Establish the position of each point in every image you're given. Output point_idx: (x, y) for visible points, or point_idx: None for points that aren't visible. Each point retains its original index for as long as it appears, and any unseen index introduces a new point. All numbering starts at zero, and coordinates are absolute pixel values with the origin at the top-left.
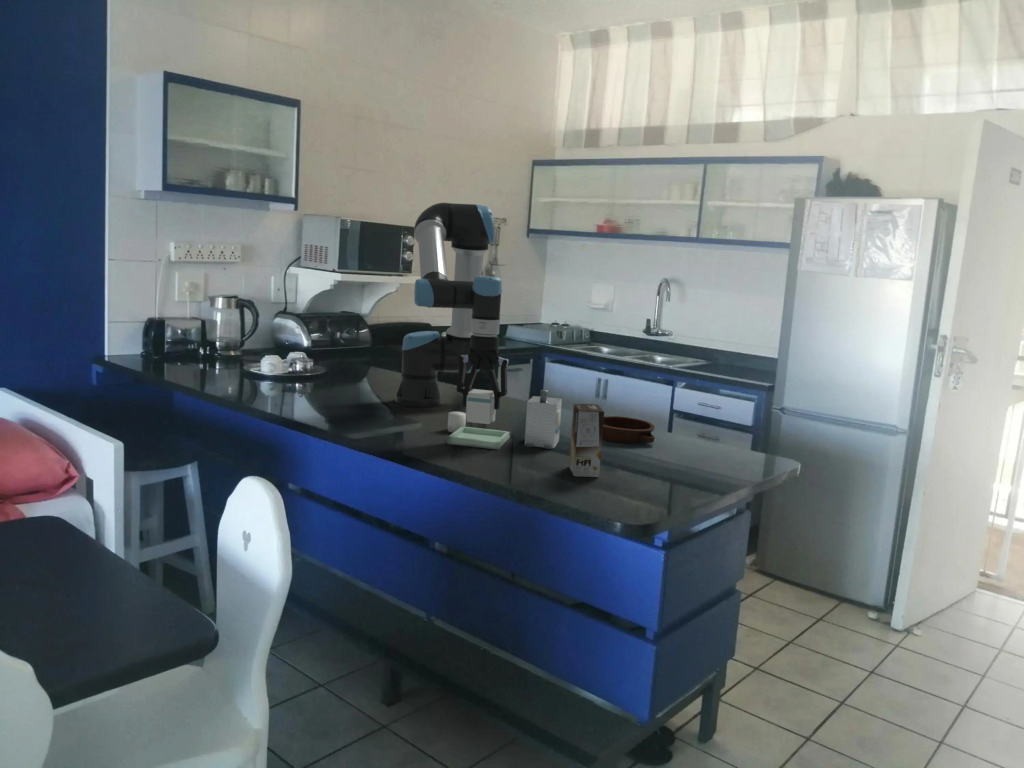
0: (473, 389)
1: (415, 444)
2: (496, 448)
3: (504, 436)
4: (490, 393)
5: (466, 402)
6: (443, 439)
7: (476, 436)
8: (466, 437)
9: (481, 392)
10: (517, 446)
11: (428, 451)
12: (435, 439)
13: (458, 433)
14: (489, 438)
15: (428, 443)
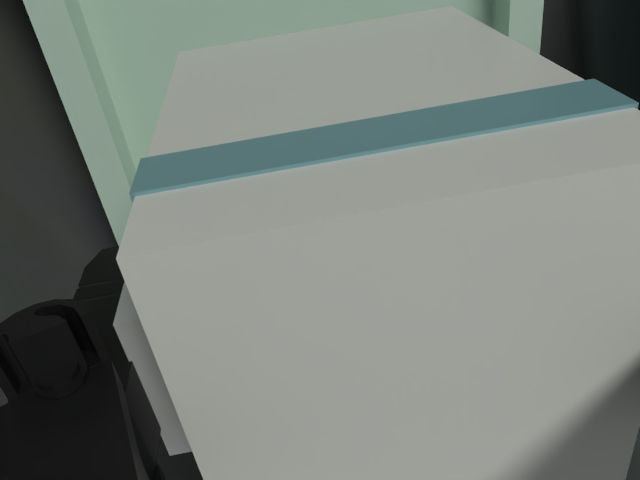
0: (143, 314)
1: (3, 396)
2: None
3: (534, 40)
4: (616, 431)
5: None
6: (48, 201)
7: (247, 12)
8: None
9: (439, 457)
10: (622, 68)
11: (164, 451)
12: (2, 235)
13: (110, 118)
14: (377, 15)
15: None
